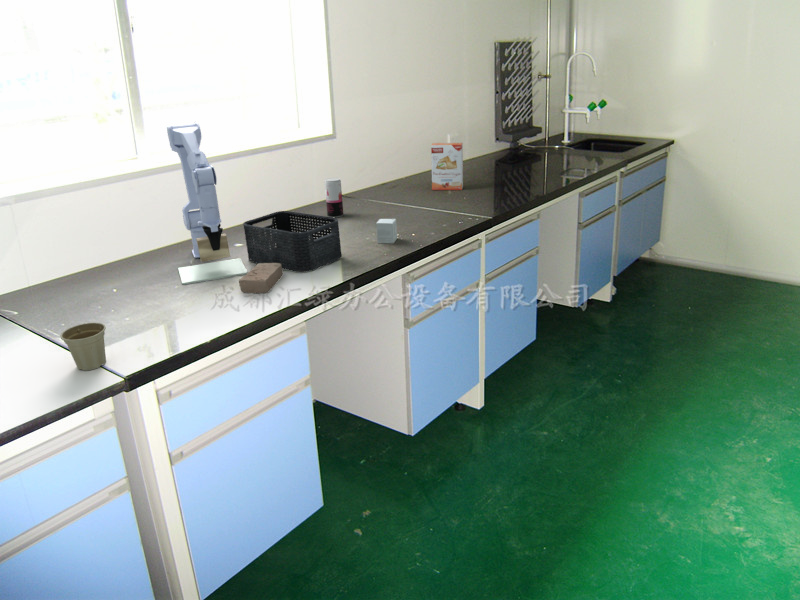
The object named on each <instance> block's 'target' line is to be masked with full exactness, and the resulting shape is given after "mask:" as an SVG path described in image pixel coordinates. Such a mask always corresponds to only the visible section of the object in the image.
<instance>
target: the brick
mask: <svg viewBox="0 0 800 600" xmlns="http://www.w3.org/2000/svg"><path fill="white" fill-rule="evenodd" d="M281 265H282V264H280V263H259V264H258V263H256V265H254V266H253V267H252V268H251V270H249V272H248V273H247V274H245V275H242V276H241V278H239V280H238V283H239V287H240V291H241V293H247V294H257V293H258V294H268V293H269V292H270V291H271V290H272V289H273V288H274V287H275V286H276V284H277V283H278V282H279V281H280V280H281V278H282V277H283V275H284V271H283V269H282V266H281Z"/></svg>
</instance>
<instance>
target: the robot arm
mask: <svg viewBox="0 0 800 600" xmlns="http://www.w3.org/2000/svg"><path fill="white" fill-rule="evenodd" d="M166 129H167V137H168V143H169V146H170V148H171V151H173V152H176V153H177V155H178V157H179V159H180V164H181V169H182V174H183V175H182V176H183V179H184V184H185V188H186V189H185V190H186V193H187V197H188V198H187V199H188V202H187V203H186V204H185V205H183V208H182V211H181V212H182V217H183V223H184V227H185V229H186V230H187V231H190V237H191V242H192V243H191V244H192V248H193V249H191V253H192V255H193V258H194V259H199V258H200V254H199V250H198V245H197V240H196V238H201V237H207V236H208V238H209V241H210V244H211V247H212V249H213V251H215V250H220V238H221V234H223V232H224V231H223V230H224V229H223V227H221V225H222V224H221V223H222V218H221V215H220V214H221V213H220V208H219V201H218V195H217V188H216V185H217V181H218V180H217V173H216V170H215V167H214V166H213V165H212V164H210V162H209V161H208V158H207V156H206V154H205V152H203V151H202V150H200V145H201V140H202V132H201V127H200V124H199V123H198V122H196V121H194V122H187V123H178V124H167V127H166ZM198 209H199V210H198Z"/></svg>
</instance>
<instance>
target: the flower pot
mask: <svg viewBox="0 0 800 600" xmlns="http://www.w3.org/2000/svg"><path fill="white" fill-rule="evenodd" d="M105 331H106V325H105V324H104V323H100V322H86V323H81V324H77V325H74V326H73V325H72V326H71V327H68V328H66V329H65V330H63V331H62V332H61V333H60V339H61V340H62V341H63V342H64V344H65V345H66V346H67V348H68V350H69V352H70V354H71V356H72V359H73V361H74V363H75V365H76V368H77V370H83V371H91V370H92V371H93V370H95V369H99V368H100V367H101V366H102V365H105V364H106V362H107V357H106V355H107V354H106V348H105V347H106V345H105V334H106V333H105Z"/></svg>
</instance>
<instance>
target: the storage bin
mask: <svg viewBox="0 0 800 600" xmlns="http://www.w3.org/2000/svg"><path fill="white" fill-rule="evenodd" d="M268 220H271V224H268V225H265V226H256V224H260V223H262V222H265V221H268ZM242 224H243V231H244V235H245V236H244V238H245V239H244V240H245V244H246V250H247V255H248V256H247V257H248V262H250V263H255V264H259V263H280V264H282V265H281V266H282V270H285V271H286V270H287V271H292V272H295V273H307V272H313V271H315V270H317V269H320V268H322V267H324V266H327V265H329V264H332V263H333V262H337V261H339V260H341V258H342V257H343V256H342V246H341V238H340V235H341V234H340V228H339V226H340V225H339V219H338V217H336V218H333V217H329V216H328V215H327V216H326V215H318V214H311V213H304V212H298V211H297V212H296V211H291V210H280V211H274V212H271V213H268V214H265V215H263V216H260V217H256V218H253V219H249V220H247V221H244V222H243V223H242Z"/></svg>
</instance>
